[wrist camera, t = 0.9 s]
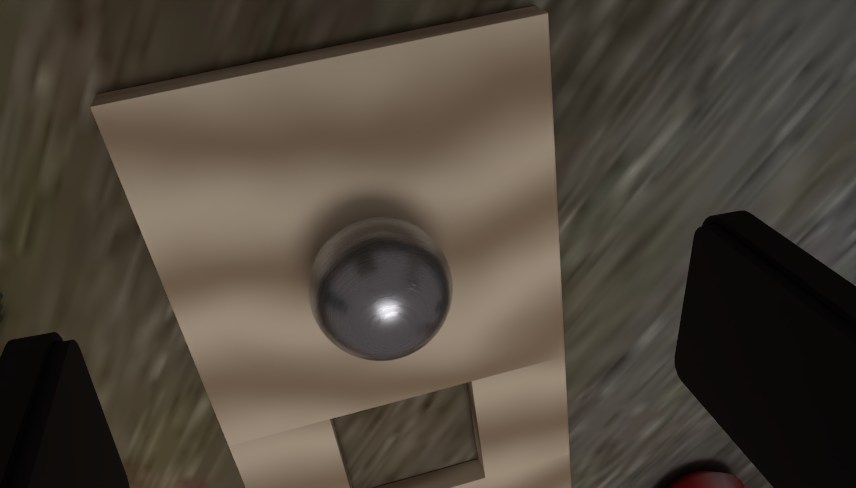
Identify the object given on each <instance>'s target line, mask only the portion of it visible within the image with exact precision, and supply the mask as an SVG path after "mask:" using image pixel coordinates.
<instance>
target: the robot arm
mask: <svg viewBox="0 0 856 488" xmlns="http://www.w3.org/2000/svg"><path fill="white" fill-rule="evenodd" d="M675 368H676V371H677V374H678V376H679V378H680V379H681V381H682V382H683V383H684V384H685V386H686V387H687V388H688V389H689V390H690V391H691V393H692V394H693V395H694V396H695V397H696V398H697V399H698V401H699V402H700V403H701V404H702V405H703V406H704V408H705V409H706V410H707V411H708V412H709V413H710V415H711V416H712V417H713V418H714V419H715V420H716V421H717V423H718V424H719V425H720V426H721V427H722V428H723V430H724V431H725V432H726V433H727V434H728V435H729V436H730V438H731V439H732V440H733V441H734V442H735V443H736V445H737V446H738V447H739V448H740V449H741V450H742V452H743V453H744V454H745V455H746V456H747V457H748V458H749V460H750V461H751V462H752V463H753V464H754V465H755V467H756V468H757V469H758V470H759V471H760V472H761V474H762V475H763V476H764V477H765V478H766V479H767V480H768V482H769V483H770V484H771V485H772V486H773V487H774V488H856V286H854V285H853V284H851V283H850V282H849V281H847V280H846V279H844V278H843V277H841V276H840V275H839V274H837V273H836V272H834V271H833V270H831V269H830V268H828V267H827V266H826V265H824V264H823V263H821V262H820V261H818V260H817V259H815V258H814V257H813V256H811V255H810V254H808V253H807V252H805V251H804V250H803V249H801V248H800V247H798V246H797V245H795V244H794V243H792V242H791V241H790V240H788V239H787V238H785V237H784V236H782V235H781V234H780V233H778V232H777V231H775V230H774V229H772V228H771V227H769V226H768V225H767V224H765V223H764V222H762V221H761V220H759V219H758V218H756V217H755V216H754V215H752V214H751V213H749V212H747V211H736V212H730V213H724V214H719V215H713V216H710V217H708V218H706V220H705V221H704V222H703V225H702V227H699V228H698V229H697V230H696V232H695V235H694V240H693V246H692V252H691V258H690V265H689V271H688V277H687V283H686V290H685V296H684V302H683V308H682V315H681V321H680V327H679V333H678V340H677V346H676V352H675ZM0 488H129V482H128V479H127V475H126V473H125V470H124V467H123V465H122V462H121V459H120V456H119V454H118V451H117V448H116V445H115V443H114V440H113V437H112V435H111V432H110V429H109V426H108V424H107V421H106V418H105V415H104V413H103V410H102V407H101V405H100V402H99V399H98V396H97V394H96V391H95V388H94V386H93V383H92V380H91V377H90V375H89V372H88V369H87V366H86V364H85V361H84V358H83V356H82V353H81V350H80V348H79V345H78V344H77V342H76V341H75V340H68V341H63V340H62V338H61V337H60V335H59V334H58V333H56V332H53V333H47V334H41V335H36V336H30V337H24V338H19V339H13V340H10V341H8V342H7V344H6V346H5V348H4V350H3V353H2V355H1V357H0Z"/></svg>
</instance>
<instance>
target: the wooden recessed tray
mask: <svg viewBox="0 0 856 488" xmlns="http://www.w3.org/2000/svg"><path fill="white" fill-rule="evenodd" d="M90 108H91V110H92V113H93V115H94V118H95V120H96V122H97V125H98V127H99V130H100V132H101V135H102V137H103V140H104V142H105V145H106V147H107V149H108V152H109V154H110V157H111V159H112V162H113V164H114V167H115V169H116V171H117V174H118V176H119V179H120V181H121V184H122V186H123V189H124V191H125V193H126V196H127V198H128V201H129V203H130V206H131V208H132V211H133V213H134V215H135V218H136V220H137V223H138V225H139V228H140V230H141V233H142V235H143V237H144V240H145V242H146V245H147V247H148V250H149V252H150V255H151V257H152V259H153V262H154V264H155V267H156V269H157V272H158V274H159V277H160V279H161V281H162V284H163V286H164V289H165V291H166V294H167V296H168V299H169V301H170V303H171V306H172V308H173V311H174V313H175V316H176V318H177V321H178V323H179V326H180V328H181V330H182V333H183V335H184V338H185V340H186V343H187V345H188V348H189V350H190V352H191V355H192V357H193V360H194V362H195V365H196V367H197V370H198V372H199V374H200V377H201V379H202V382H203V384H204V387H205V389H206V392H207V394H208V396H209V399H210V401H211V404H212V406H213V409H214V411H215V414H216V416H217V418H218V421H219V423H220V426H221V428H222V431H223V433H224V436H225V438H226V440H227V443H228V445H229V448H230V450H231V453H232V455H233V458H234V460H235V462H236V465H237V467H238V470H239V472H240V475H241V477H242V480H243V482H244V484H245V487H246V488H352V484H351V481H350V477H349V474H348V470H347V467H346V464H345V460H344V457H343V453H342V450H341V446H340V443H339V439H338V436H337V433H336V429H335V426H334V422H333V419H332V418H336V417H340V416H344V415H347V414H351V413H355V412H359V411H362V410H366V409H370V408H374V407H377V406H381V405H385V404H389V403H392V402H396V401H400V400H403V399H407V398H411V397H415V396H418V395H422V394H426V393H430V392H433V391H437V390H441V389H445V388H448V387H452V386H456V385H460V384H463V383H467V387H468V394H469V400H470V407H471V414H472V421H473V428H474V434H475V441H476V448H477V455H478V459H475V460H472V461H468V462H465V463H461V464H458V465H454V466H450V467H447V468H443V469H440V470H436V471H433V472H429V473H426V474H422V475H418V476H415V477H411V478H408V479H404V480H401V481H397V482H393V483H390V484H386V485H383V486H379V487H376V488H571V476H570V455H569V435H568V414H567V394H566V373H565V352H564V332H563V311H562V291H561V270H560V250H559V229H558V208H557V188H556V167H555V147H554V126H553V105H552V85H551V64H550V44H549V23H548V13H547V12H545V11H544V10H542V9H540V8H539V7H537V6H535V5H534V6H530V7H525V8H520V9H515V10H510V11H505V12H500V13H495V14H490V15H485V16H480V17H475V18H470V19H466V20H461V21H456V22H451V23H446V24H441V25H436V26H431V27H426V28H421V29H416V30H411V31H406V32H402V33H397V34H392V35H387V36H382V37H377V38H372V39H367V40H362V41H357V42H352V43H347V44H342V45H337V46H333V47H328V48H323V49H318V50H313V51H308V52H303V53H298V54H293V55H288V56H283V57H278V58H273V59H269V60H264V61H259V62H254V63H249V64H244V65H239V66H234V67H229V68H224V69H219V70H214V71H209V72H205V73H200V74H195V75H190V76H185V77H180V78H175V79H170V80H165V81H160V82H155V83H150V84H145V85H141V86H136V87H131V88H126V89H121V90H116V91H111V92H106V93H101V94H97V95H96V97H95V99H94V101H93V103H92V105H91V106H90ZM380 216H381V217H392V218H398V219H401V220H404V221H407V222H409V223H411V224H414V225H416V226H417V227H419V228H421V229H422V230H424V231H425V232H426V233H427V234H428V235H429V236H430V237H432V238H433V239H434V241H435V242H436V243H437V244H438V245H439V247H440V248H441V250H442V252H443V253H444V255H445V257H446V259H447V262H448V264H449V267H450V270H451V275H452V283H453V294H452V302H451V307H450V310H449V313H448V315H447V318H446V320H445V322H444V324H443V326H442V327H441V329H440V330H439V332H438V333H437V334H436V335H435V337H434V338H433V339H432V340H431V341H430V342H429V343H428V344H426V345H425V346H424V347H422V348H421V349H420V350H418V351H416V352H414V353H413V354H410V355H408V356H406V357H402V358H399V359H395V360H389V361H371V360H365V359H361V358H358V357H355V356H352V355H350V354H348V353H346V352H344V351H343V350H341V349H340V348H338V347H337V346H335V345H334V344H333V343H332V342H331V341H330V340H329V339H328V338H327V337H326V336H325V335H324V333H323V332H322V331H321V330H320V328H319V326H318V324H317V322H316V321H315V319H314V316H313V314H312V311H311V307H310V302H309V294H308V283H309V275H310V271H311V268H312V264H313V262H314V260H315V257H316V255H317V254H318V252H319V250H320V249H321V247H322V246H323V245H324V243H325V242H326V241H327V240H328V239H329V238H330V237H331V236H332V235H333V234H334V233H335V232H337V231H338V230H340V229H341V228H342V227H344V226H346V225H348V224H350V223H352V222H354V221H357V220H360V219H364V218H369V217H380Z"/></svg>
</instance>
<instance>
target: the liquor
mask: <svg viewBox="0 0 856 488" xmlns="http://www.w3.org/2000/svg"><path fill="white" fill-rule="evenodd" d="M666 488H744V485H743V483H742V482H741V480H740V479H738V478H737V477H736V476H734V475H731V474H727V473H721V472H712V471H703V470H702V471H693V472H689V473H686V474H684V475H682V476H680V477H678V478H676V479H675V480H673V481H672V482H671V483H670V484H669V485H668V486H667V487H666Z"/></svg>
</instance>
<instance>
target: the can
mask: <svg viewBox="0 0 856 488" xmlns="http://www.w3.org/2000/svg"><path fill="white" fill-rule="evenodd" d="M2 297H3V296H2V295H1V294H0V301H1V299H2ZM2 308H3V306H1V305H0V312H1V310H2ZM2 318H3V317H2V316H0V323H1V320H2Z"/></svg>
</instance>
